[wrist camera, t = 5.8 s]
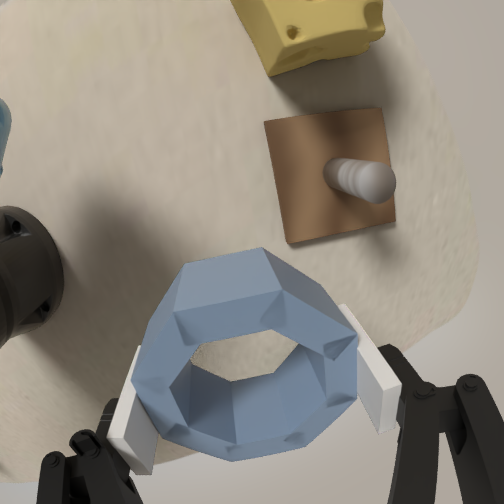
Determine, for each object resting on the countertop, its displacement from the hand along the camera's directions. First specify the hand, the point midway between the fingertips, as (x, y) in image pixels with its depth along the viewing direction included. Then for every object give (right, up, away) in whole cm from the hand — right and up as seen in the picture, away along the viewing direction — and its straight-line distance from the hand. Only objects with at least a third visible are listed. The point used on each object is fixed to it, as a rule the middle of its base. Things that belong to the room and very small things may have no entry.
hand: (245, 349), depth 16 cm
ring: (0, +1, +1) cm, 1 cm away
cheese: (+4, +28, +10) cm, 30 cm away
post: (+8, +13, +14) cm, 21 cm away
